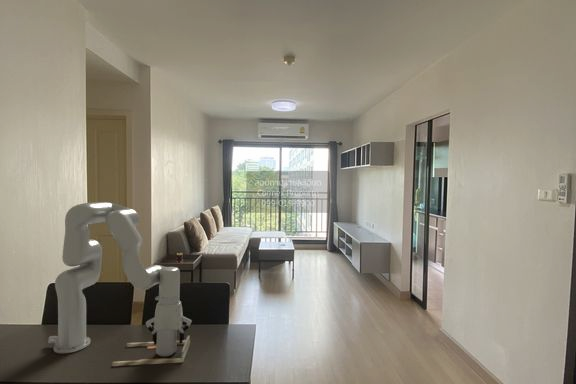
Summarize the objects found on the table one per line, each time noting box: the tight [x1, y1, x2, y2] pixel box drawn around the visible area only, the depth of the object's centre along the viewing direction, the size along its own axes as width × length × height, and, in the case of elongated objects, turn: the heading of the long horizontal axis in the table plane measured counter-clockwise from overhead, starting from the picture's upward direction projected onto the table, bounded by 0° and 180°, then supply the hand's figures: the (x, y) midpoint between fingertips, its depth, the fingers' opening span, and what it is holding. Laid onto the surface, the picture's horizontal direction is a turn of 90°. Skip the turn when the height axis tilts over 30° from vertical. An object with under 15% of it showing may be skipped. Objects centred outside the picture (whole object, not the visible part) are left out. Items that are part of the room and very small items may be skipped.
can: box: [155, 326, 178, 358], centre depth 128 cm, size 8×8×12 cm
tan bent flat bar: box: [111, 335, 191, 367], centre depth 127 cm, size 25×15×4 cm, turn 97°
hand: (168, 342), depth 128 cm, fingers open, 9 cm apart
